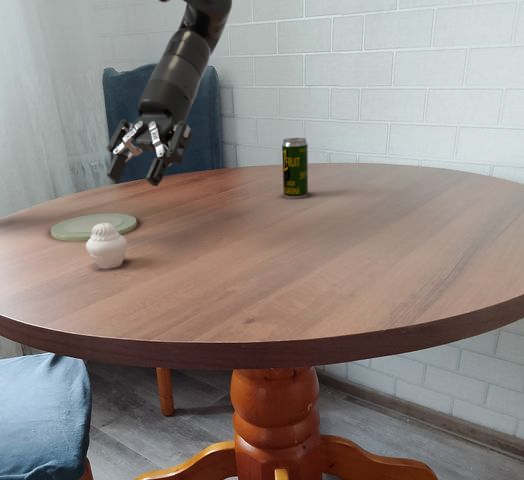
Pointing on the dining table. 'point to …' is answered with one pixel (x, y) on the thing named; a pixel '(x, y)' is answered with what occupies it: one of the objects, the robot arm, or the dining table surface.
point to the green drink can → (295, 167)
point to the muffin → (106, 246)
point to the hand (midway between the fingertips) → (131, 181)
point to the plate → (91, 226)
